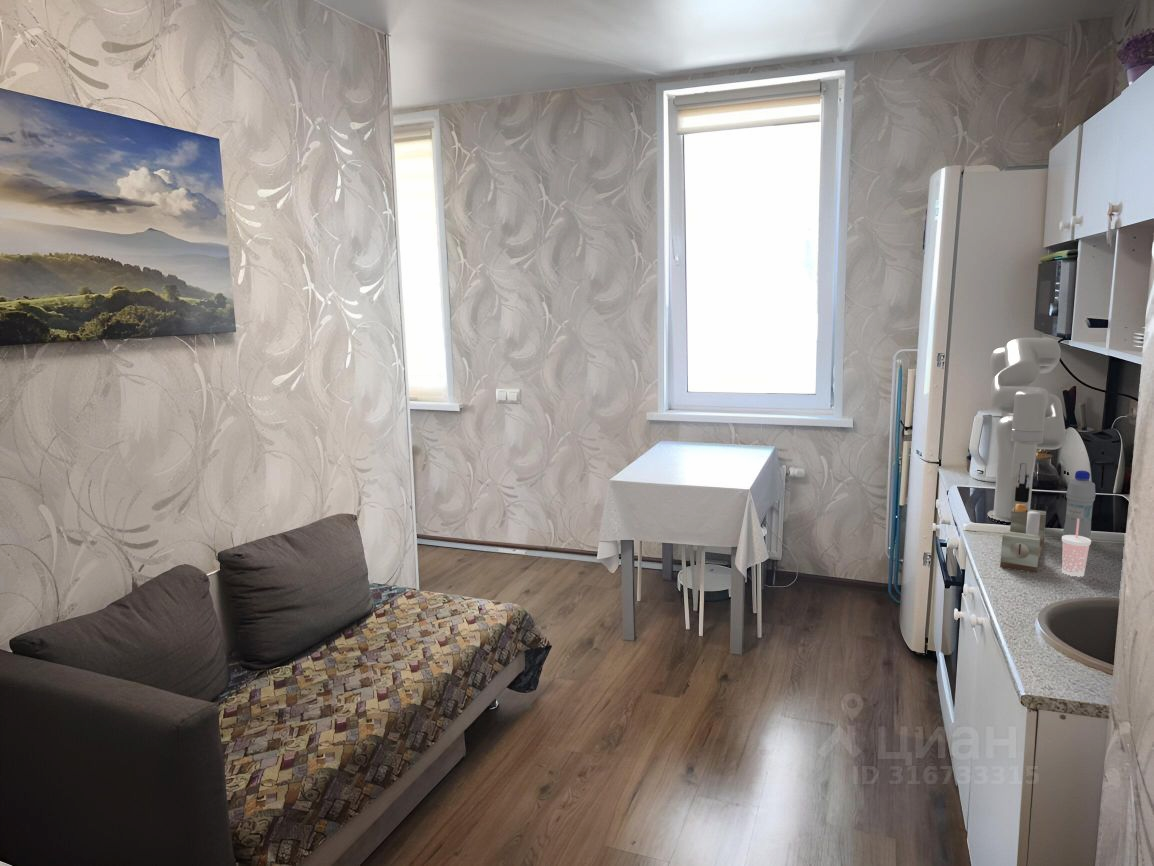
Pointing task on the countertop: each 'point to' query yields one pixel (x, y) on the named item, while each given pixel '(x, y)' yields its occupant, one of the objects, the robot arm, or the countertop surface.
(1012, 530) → the rail stand
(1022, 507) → the button
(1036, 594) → the countertop surface
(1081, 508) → the bottle
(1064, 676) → the countertop surface
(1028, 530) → the carriage
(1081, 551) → the beverage cup
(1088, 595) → the countertop surface
